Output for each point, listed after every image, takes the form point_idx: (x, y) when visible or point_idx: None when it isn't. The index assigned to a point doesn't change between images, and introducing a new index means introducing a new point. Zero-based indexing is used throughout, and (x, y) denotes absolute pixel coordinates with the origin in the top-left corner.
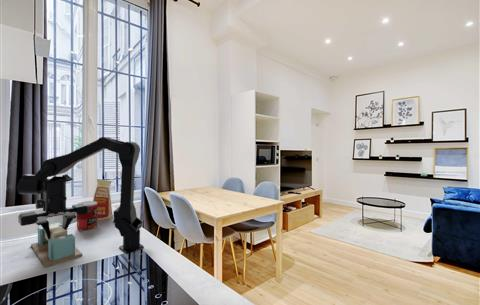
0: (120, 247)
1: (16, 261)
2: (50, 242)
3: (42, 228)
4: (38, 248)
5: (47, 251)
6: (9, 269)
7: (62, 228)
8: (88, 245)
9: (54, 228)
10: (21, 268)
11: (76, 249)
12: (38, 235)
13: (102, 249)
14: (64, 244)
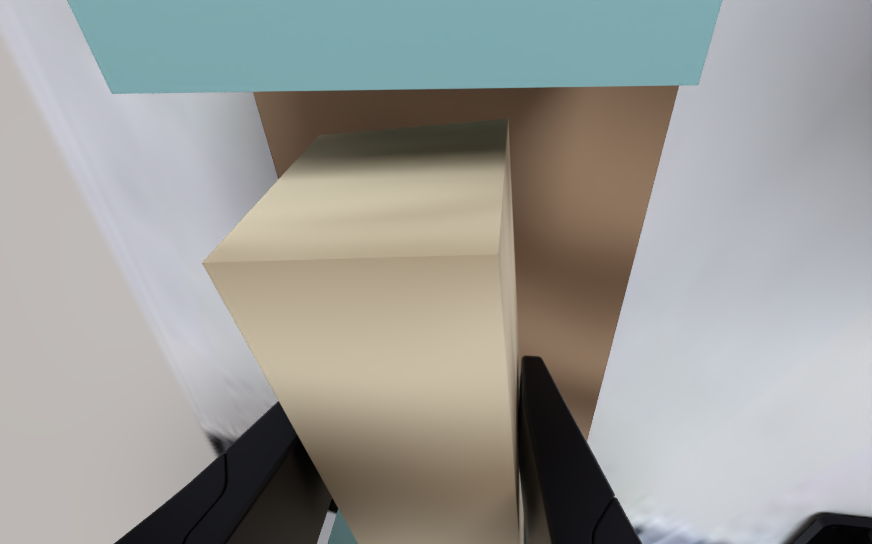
0: (818, 535)
1: (165, 221)
2: None
3: (157, 50)
4: (295, 108)
5: None
6: (167, 315)
7: (507, 526)
8: (738, 335)
9: (398, 457)
10: (236, 350)
11: (588, 392)
12: None
13: (739, 458)
14: None
